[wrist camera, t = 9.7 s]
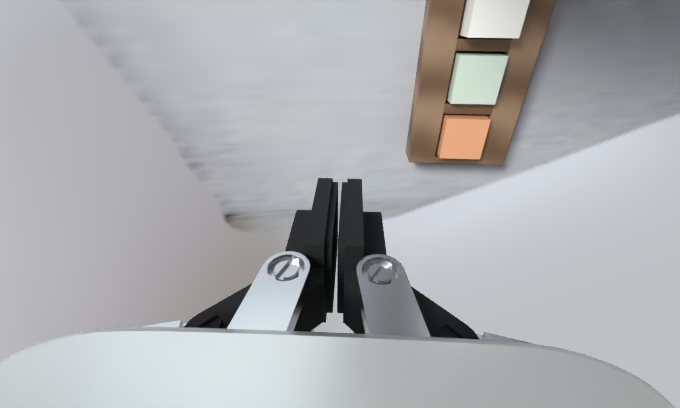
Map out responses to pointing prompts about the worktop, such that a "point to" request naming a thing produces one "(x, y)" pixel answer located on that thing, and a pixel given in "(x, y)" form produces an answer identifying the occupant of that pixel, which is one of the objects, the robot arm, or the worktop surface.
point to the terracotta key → (462, 136)
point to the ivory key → (493, 18)
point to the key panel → (436, 71)
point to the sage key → (476, 77)
